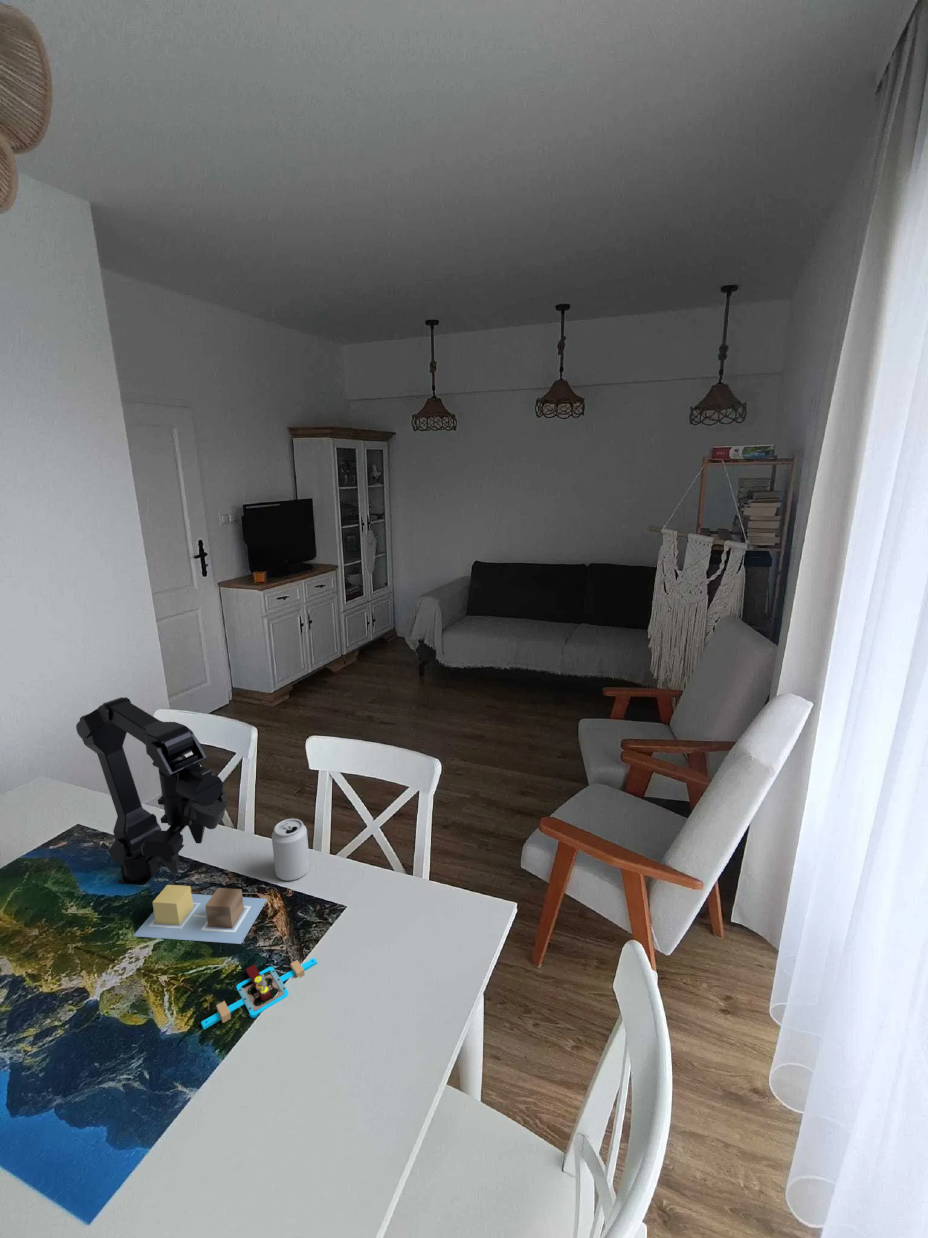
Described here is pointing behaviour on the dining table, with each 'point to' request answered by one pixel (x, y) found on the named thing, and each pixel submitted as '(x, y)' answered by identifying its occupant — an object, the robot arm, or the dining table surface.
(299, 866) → the can
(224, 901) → the walnut cube
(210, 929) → the blueprint sheet
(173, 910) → the ochre block
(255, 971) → the gear mechanism
